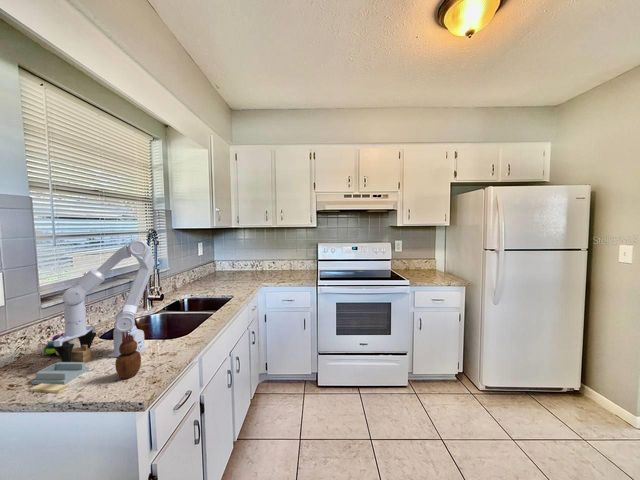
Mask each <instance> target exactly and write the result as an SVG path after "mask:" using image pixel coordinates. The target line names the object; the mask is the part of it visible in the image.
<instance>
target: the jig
mask: <svg viewBox="0 0 640 480" xmlns="http://www.w3.org/2000/svg"><path fill="white" fill-rule="evenodd" d="M89 368H90V367H88V366H86V363H85V362H60V361H57V362H55V363H52V364H50V365H48V366H46V367H43V368H42V369H40V370H38V371H37V372H36V373H35V379H33V380H31V385H39V384H41V383H42V384H60V385H67V384H68V383H69V382H71V381H73V380H74V379H76V378H79V376H81V375H83V374H84V373H86V372H88V371H89V370H90V369H89Z"/></svg>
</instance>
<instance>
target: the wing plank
mask: <svg viewBox="0 0 640 480" xmlns="http://www.w3.org/2000/svg"><path fill="white" fill-rule="evenodd" d="M68 388H70V387H69V384H64V385H60V384H42V383H41V384H36V386H34V387H31V388H30V392H33V391H34V393H35V392H37V393H51V394H60V393H61V392H64V390H66V389H68Z"/></svg>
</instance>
